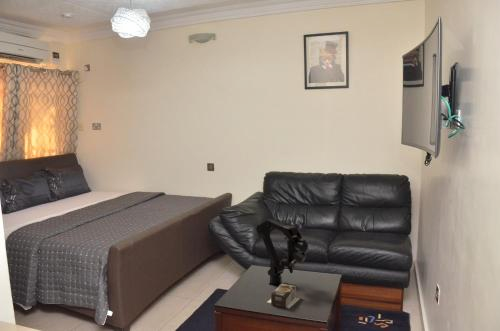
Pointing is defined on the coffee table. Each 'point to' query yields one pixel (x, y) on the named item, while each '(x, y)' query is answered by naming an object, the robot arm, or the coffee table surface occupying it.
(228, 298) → the coffee table surface
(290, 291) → the coffee box
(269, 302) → the mat
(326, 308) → the coffee table surface
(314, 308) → the coffee table surface
